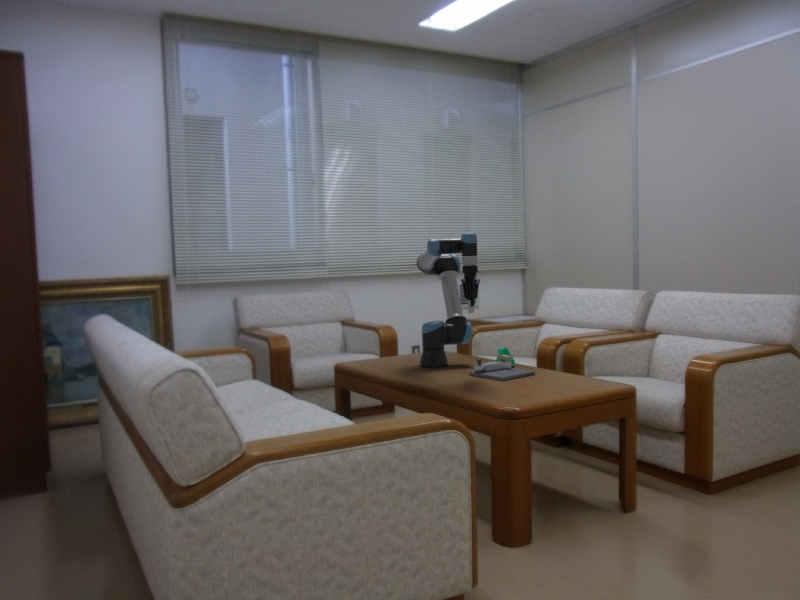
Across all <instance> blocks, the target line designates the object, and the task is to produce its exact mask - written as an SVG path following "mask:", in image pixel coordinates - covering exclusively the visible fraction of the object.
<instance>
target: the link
mask: <svg viewBox="0 0 800 600" xmlns="http://www.w3.org/2000/svg"><path fill="white" fill-rule="evenodd" d="M476 362H477V364H474V365H473V367H474V369H473V371H474V372H485V371H492V370H498V369H505V368H512V365H511V361H500V362H493V361H491V362H492V363H488V362H486V363H482V362H483V358H477V359H476Z"/></svg>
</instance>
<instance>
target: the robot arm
mask: <svg viewBox="0 0 800 600" xmlns="http://www.w3.org/2000/svg"><path fill="white" fill-rule="evenodd" d="M457 254H461V262H460V258H459V256H458V255H457ZM461 264H462V270H461ZM477 264H478V236H477V234H476V233H475V232H471V233H462V234H461V237H460V238H458V237H457V238H433V239H432V238H431V239H428V240H427V243H426V251H424V253H421V254H420V255H419V256H418V257H417V259H416V267H417V269H418V270H419V272H421V273H423V274H424V275H429V276H437V279H438V280H439V281H441V288H442V294H443V301H444V305H445V311H446V312H445V313H446V317H447V318H446V320H445V321H444V320H433V321H427V322H425V323H423V324H422V326H421V345H422V353H421V357H420V360H419V367H422V366H423V367H424V368H444V367H447V366H449V359H448V357H447V354H446V350H445V346H448V345H449V346H450V345H451V346H453V345H464V344H469V343H470V341H471V340H472V334H473V326H472V323H471V321H468V319H467V317H466V316H464V314H463V308H462V302H461V296H460V292H459V285H458V280H457V278H458V276H459V274H460V273H461V271H462V274H464V275H463V278H461V279H460V281H461V285H462V289H463V290H462V291H463V297H464V299H466V300H467V313H468V314H474V313H475V300H476V299H478V296H479V295H478V294H479V293H478V292H479V285H480V282H481V280H480V278H478V277H477V273H478V272H479V267H478V265H477ZM443 366H444V367H443ZM423 367H422V368H423Z"/></svg>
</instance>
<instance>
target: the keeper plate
mask: <svg viewBox="0 0 800 600" xmlns="http://www.w3.org/2000/svg"><path fill="white" fill-rule="evenodd" d="M513 359H514V356H513V355H511V356H507V355H499V362H500V361H505V360H513ZM468 373H469V376H472V375H473V377H477V376H478V378H483V377H484V379H488V378H489V380H494V379H495V380H496V381H500V380H501V382H504V381H503V380H505V381H509V380H508V379H510V380H514V379H513V378H515V379H519V378H518V377H520V378H523V377H522V376H525V377H528V376H527V375H530V376H532V375H531V374H535V375H536V371H534V370H529V369H521V368H514V367H511V368H505V369H498V370H492V371H485V372H474V370H472V371H469V372H468Z"/></svg>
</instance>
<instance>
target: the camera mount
mask: <svg viewBox="0 0 800 600" xmlns="http://www.w3.org/2000/svg"><path fill="white" fill-rule="evenodd" d="M499 355H507V356H512V354H511V352H510V350H509V348H507V347H503V346H501V347H499V348H498V350H497V357H496V359H495V360H494V361H488V362H487V363H492V362H499ZM505 361H511V366H512V365H515V364H516V361H515V359H514V358H513V360H505ZM515 366H516V365H515Z"/></svg>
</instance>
